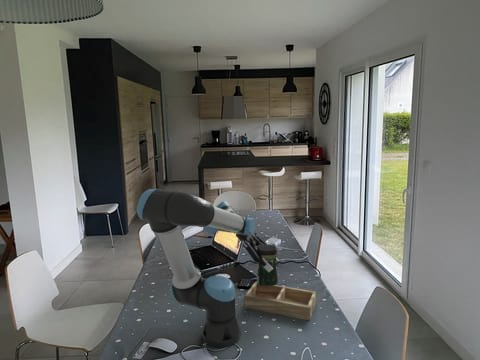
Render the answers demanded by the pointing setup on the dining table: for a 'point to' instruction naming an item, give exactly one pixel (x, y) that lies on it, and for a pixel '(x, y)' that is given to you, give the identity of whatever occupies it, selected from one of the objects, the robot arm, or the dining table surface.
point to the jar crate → (281, 300)
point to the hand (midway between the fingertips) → (274, 266)
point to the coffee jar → (270, 256)
